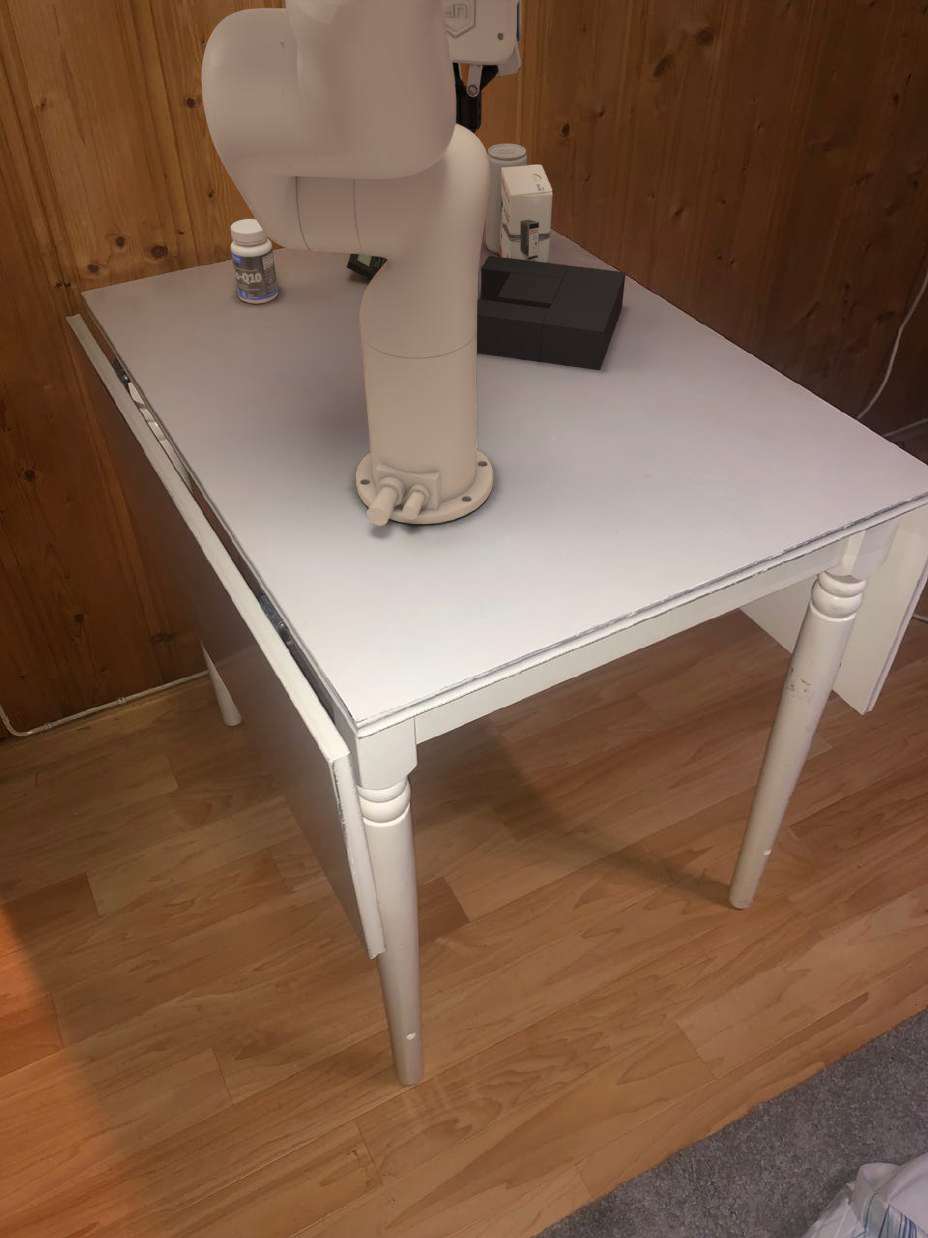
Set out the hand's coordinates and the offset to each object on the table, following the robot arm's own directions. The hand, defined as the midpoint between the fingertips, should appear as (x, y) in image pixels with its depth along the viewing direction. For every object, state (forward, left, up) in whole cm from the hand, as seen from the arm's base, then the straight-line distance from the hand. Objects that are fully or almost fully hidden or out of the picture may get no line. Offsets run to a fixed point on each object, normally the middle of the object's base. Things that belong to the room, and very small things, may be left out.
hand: (464, 134), depth 99 cm
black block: (+4, -6, -21) cm, 22 cm away
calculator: (+13, +12, -21) cm, 28 cm away
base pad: (+3, -8, -21) cm, 23 cm away
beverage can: (+22, +1, -21) cm, 31 cm away
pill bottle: (+2, +26, -21) cm, 34 cm away
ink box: (+15, -3, -21) cm, 26 cm away
